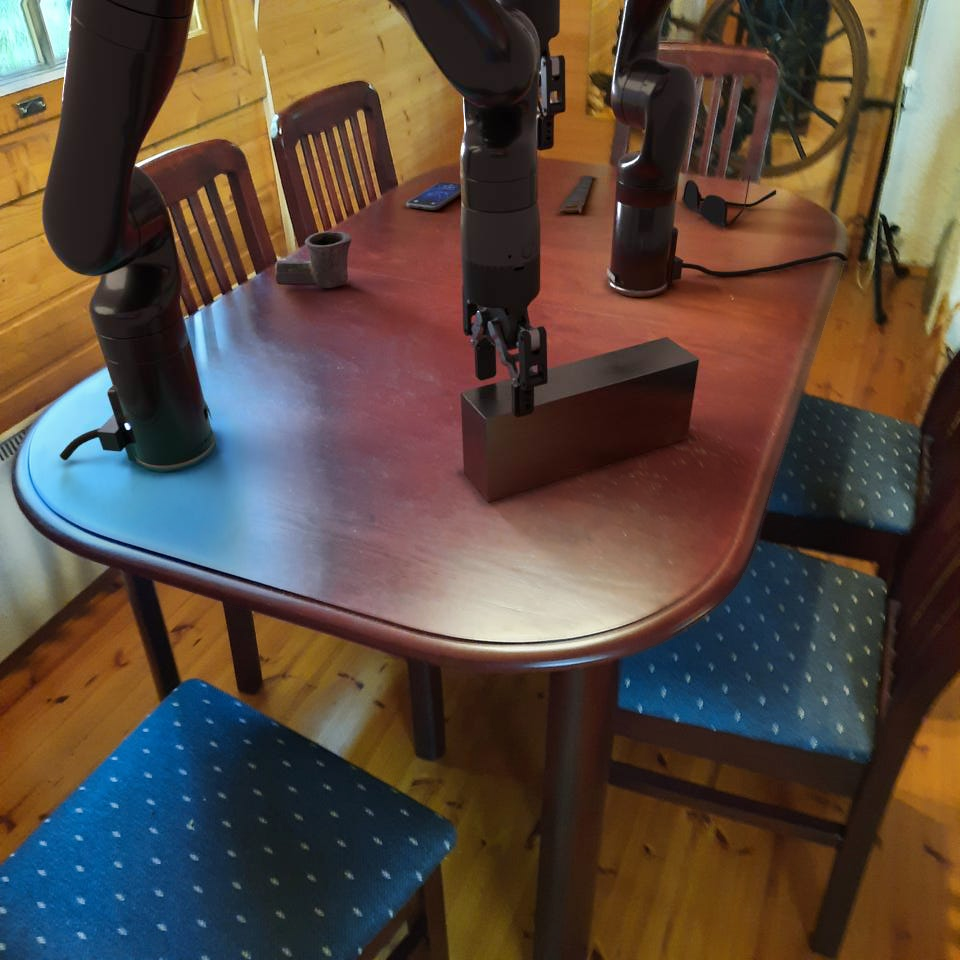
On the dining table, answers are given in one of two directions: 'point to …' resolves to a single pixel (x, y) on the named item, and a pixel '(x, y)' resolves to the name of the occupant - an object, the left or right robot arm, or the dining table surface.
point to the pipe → (318, 262)
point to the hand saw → (577, 197)
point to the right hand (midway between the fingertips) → (527, 140)
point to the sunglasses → (714, 204)
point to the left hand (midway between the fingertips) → (503, 395)
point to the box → (578, 418)
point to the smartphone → (436, 196)
